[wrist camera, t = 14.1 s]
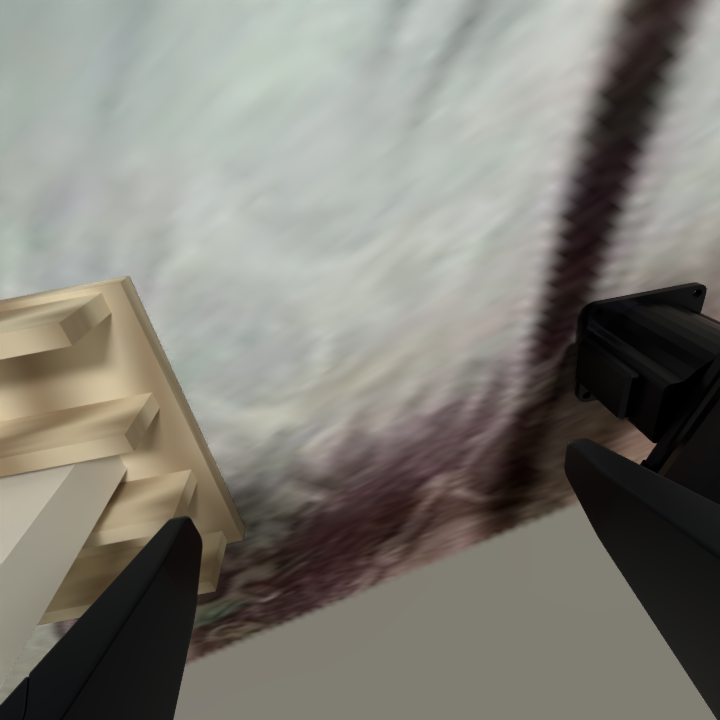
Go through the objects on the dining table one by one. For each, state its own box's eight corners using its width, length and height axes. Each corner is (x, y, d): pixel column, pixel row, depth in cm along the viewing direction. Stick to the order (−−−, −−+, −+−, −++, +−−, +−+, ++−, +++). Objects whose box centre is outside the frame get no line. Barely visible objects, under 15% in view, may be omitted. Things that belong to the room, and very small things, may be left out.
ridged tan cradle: (129, 275, 19) (80, 311, 15) (245, 528, 28) (233, 590, 24) (-160, 331, 19) (-281, 379, 15) (48, 565, 28) (5, 634, 24)
